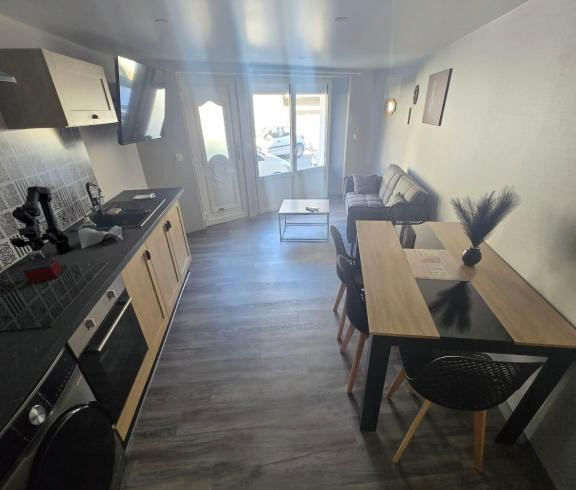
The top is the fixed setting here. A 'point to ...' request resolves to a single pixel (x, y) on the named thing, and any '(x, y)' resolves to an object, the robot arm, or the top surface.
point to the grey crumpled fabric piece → (97, 235)
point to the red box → (44, 272)
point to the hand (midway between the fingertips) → (36, 254)
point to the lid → (37, 261)
